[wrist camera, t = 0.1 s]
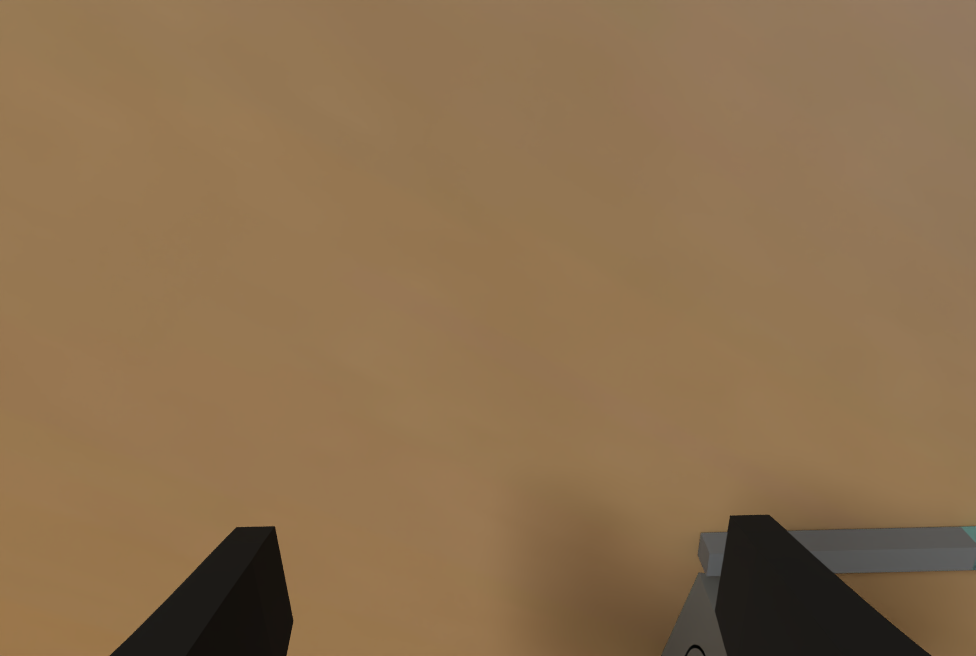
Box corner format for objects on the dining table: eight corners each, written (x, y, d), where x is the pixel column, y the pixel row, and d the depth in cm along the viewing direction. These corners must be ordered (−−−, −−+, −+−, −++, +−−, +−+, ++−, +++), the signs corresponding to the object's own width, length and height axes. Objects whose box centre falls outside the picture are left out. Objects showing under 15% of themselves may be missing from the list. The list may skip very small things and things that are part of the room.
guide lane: (1065, 714, 28) (1096, 750, 26) (673, 723, 28) (683, 760, 26) (1162, 522, 23) (1205, 553, 22) (700, 532, 23) (714, 564, 22)
